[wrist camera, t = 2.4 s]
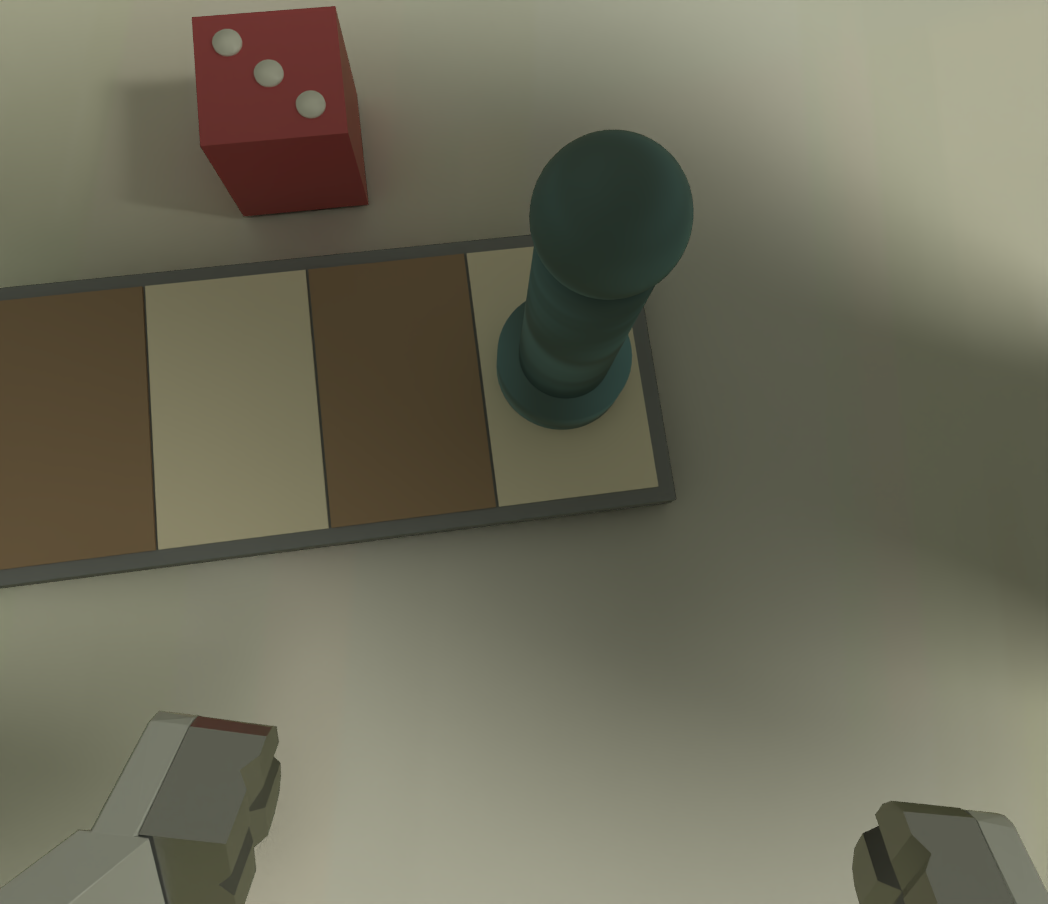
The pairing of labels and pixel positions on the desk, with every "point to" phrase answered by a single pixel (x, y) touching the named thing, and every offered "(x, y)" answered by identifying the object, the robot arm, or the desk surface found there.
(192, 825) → the robot arm
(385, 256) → the board
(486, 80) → the desk surface
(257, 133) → the die
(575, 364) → the pawn
